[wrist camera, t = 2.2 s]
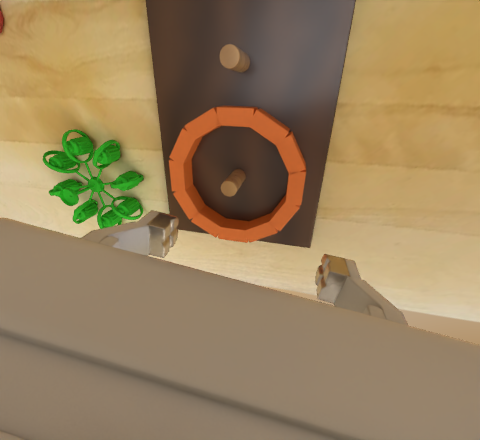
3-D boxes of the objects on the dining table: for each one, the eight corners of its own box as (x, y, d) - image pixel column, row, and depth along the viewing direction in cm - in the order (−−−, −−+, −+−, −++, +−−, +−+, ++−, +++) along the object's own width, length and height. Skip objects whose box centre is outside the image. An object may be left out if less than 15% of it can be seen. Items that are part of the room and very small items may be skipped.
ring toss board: (365, -63, 21) (386, -116, 16) (309, 243, 35) (311, 270, 29) (146, -47, 24) (103, -84, 19) (174, 224, 38) (154, 245, 33)
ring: (314, 109, 26) (315, 110, 24) (295, 238, 33) (294, 249, 31) (173, 103, 29) (162, 104, 27) (184, 223, 36) (176, 232, 34)
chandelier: (43, 136, 36) (-9, 144, 30) (130, 118, 32) (90, 124, 26) (87, 227, 42) (51, 250, 36) (164, 222, 38) (139, 246, 32)
